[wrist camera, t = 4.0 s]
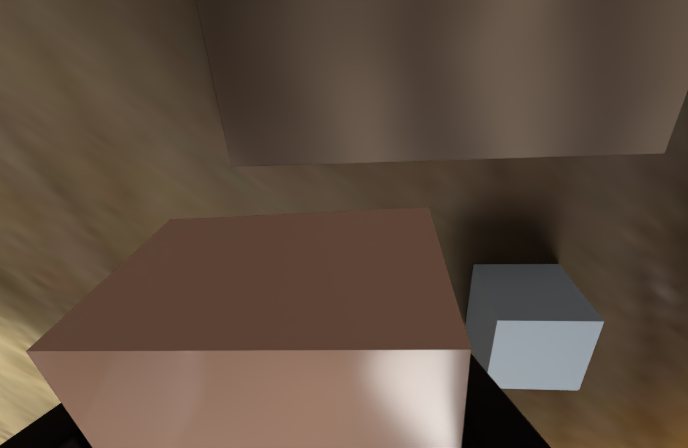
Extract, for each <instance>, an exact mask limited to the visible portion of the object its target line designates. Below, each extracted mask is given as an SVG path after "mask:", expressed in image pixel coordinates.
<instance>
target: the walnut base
mask: <svg viewBox="0 0 688 448" xmlns="http://www.w3.org/2000/svg"><path fill="white" fill-rule="evenodd" d="M196 2H197V7H198V12H199V16H200V21H201V26H202V31H203V35H204V40H205V45H206V49H207V54H208V59H209V64H210V68H211V73H212V78H213V82H214V87H215V92H216V97H217V101H218V106H219V111H220V115H221V120H222V125H223V130H224V134H225V139H226V144H227V149H228V153H229V158H230V163H231V167H238V166H270V165H303V164H335V163H367V162H399V161H432V160H464V159H496V158H529V157H561V156H593V155H625V154H658V153H665V151H666V148H667V145H668V142H669V140H670V137H671V134H672V132H673V129H674V126H675V123H676V121H677V118H678V115H679V113H680V110H681V107H682V104H683V102H684V99H685V96H686V94H687V91H688V0H196Z"/></svg>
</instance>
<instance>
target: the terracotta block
mask: <svg viewBox="0 0 688 448" xmlns="http://www.w3.org/2000/svg"><path fill="white" fill-rule="evenodd" d="M26 352H27V354H28V355H29V357H30V358H31V359H32V361H33V362H34V364H35V365H36V367H37V368H38V370H39V371H40V372H41V374H42V375H43V377H44V378H45V380H46V381H47V383H48V384H49V385H50V387H51V388H52V390H53V391H54V393H55V394H56V396H57V397H58V398H59V400H60V401H61V403H62V404H63V406H64V407H65V409H66V410H67V411H68V413H69V414H70V416H71V417H72V419H73V420H74V422H75V423H76V424H77V426H78V427H79V429H80V430H81V432H82V433H83V435H84V436H85V437H86V439H87V440H88V442H89V443H90V445H91V446H92V448H461V444H462V434H463V424H464V414H465V404H466V394H467V384H468V374H469V364H470V354H471V348H470V345H469V341H468V338H467V335H466V331H465V328H464V325H463V321H462V318H461V314H460V311H459V308H458V304H457V301H456V298H455V294H454V291H453V287H452V284H451V281H450V277H449V274H448V271H447V267H446V264H445V260H444V257H443V254H442V250H441V247H440V243H439V240H438V237H437V233H436V230H435V227H434V223H433V220H432V216H431V213H430V210H429V207H424V208H403V209H382V210H361V211H340V212H319V213H298V214H277V215H256V216H234V217H213V218H192V219H171V220H169V221H168V222H167V223H166V224H165V225H164V226H163V227H161V228H160V229H159V230H158V231H157V232H156V233H155V234H154V235H153V236H152V237H151V238H149V239H148V240H147V241H146V242H145V243H144V244H143V245H142V246H141V247H140V248H138V249H137V250H136V251H135V252H134V253H133V254H132V255H131V256H130V257H129V258H128V259H126V260H125V261H124V262H123V263H122V264H121V265H120V266H119V267H118V268H117V269H116V270H114V271H113V272H112V273H111V274H110V275H109V276H108V277H107V278H106V279H105V280H103V281H102V282H101V283H100V284H99V285H98V286H97V287H96V288H95V289H94V290H93V291H91V292H90V293H89V294H88V295H87V296H86V297H85V298H84V299H83V300H82V301H81V302H79V303H78V304H77V305H76V306H75V307H74V308H73V309H72V310H71V311H70V312H68V313H67V314H66V315H65V316H64V317H63V318H62V319H61V320H60V321H59V322H58V323H56V324H55V325H54V326H53V327H52V328H51V329H50V330H49V331H48V332H47V333H46V334H44V335H43V336H42V337H41V338H40V339H39V340H38V341H37V342H36V343H35V344H33V345H32V346H31V347H30V348H29V349H28V350H27V351H26Z"/></svg>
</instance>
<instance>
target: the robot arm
mask: <svg viewBox="0 0 688 448" xmlns="http://www.w3.org/2000/svg"><path fill="white" fill-rule="evenodd" d="M0 448H92V446H91V445H90V443H89V442H88V440H87V439H86V437H85V436H84V435H83V433H82V432H81V430H80V429H79V427H78V426H77V424H76V423H75V422H74V420H73V419H72V417H71V416H70V414H69V413H68V411H67V410H66V409H65V407H64V406H63V404H62V403H60V404H59V405H57V406H56V407H54V408H53V409H52V410H50V411H49V412H47V413H46V414H44V415H43V416H42V417H40V418H39V419H37V420H36V421H34V422H33V423H31V424H30V425H29V426H27V427H26V428H24V429H23V430H21V431H20V432H19V433H17V434H16V435H14V436H13V437H11V438H10V439H8V440H7V441H6V442H4V443H3V444H1V445H0ZM461 448H551V447H550V446H549V445H548V444H547V443H546V441H545V440H544V439H543V438H542V437H541V435H540V434H539V433H538V432H537V431H536V430H535V428H534V427H533V426H532V425H531V424H530V422H529V421H528V420H527V419H526V418H525V417H524V415H523V414H522V413H521V412H520V411H519V409H518V408H517V407H516V406H515V405H514V404H513V402H512V401H511V400H510V399H509V398H508V396H507V395H506V394H505V393H504V392H503V391H502V389H501V388H500V387H499V386H498V385H497V383H496V382H495V381H494V380H493V379H492V378H491V376H490V375H489V374H488V373H487V372H486V370H485V369H484V368H483V367H482V366H481V365H480V363H479V362H478V361H477V360H476V359H475V357H474V356H473V355H472V354H470V364H469V374H468V384H467V394H466V404H465V414H464V424H463V434H462V444H461Z"/></svg>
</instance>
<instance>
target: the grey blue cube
mask: <svg viewBox="0 0 688 448" xmlns="http://www.w3.org/2000/svg"><path fill="white" fill-rule="evenodd" d="M603 323H604V321H603V319H602V318H601V317H600V316H599V314H598V313H597V312H596V311H595V309H594V308H593V307H592V305H591V304H590V303H589V302H588V300H587V299H586V298H585V297H584V295H583V294H582V293H581V291H580V290H579V289H578V288H577V286H576V285H575V284H574V283H573V281H572V280H571V279H570V278H569V276H568V275H567V274H566V272H565V271H564V270H563V269H562V267H561V266H560V265H559V264H474V265H473V273H472V280H471V288H470V295H469V303H468V310H467V318H466V329H467V332H468V335H469V338H470V342H471V345H472V348H473V351H474V355H475V358H476V360H477V361H478V362H479V363H480V365H481V366H482V367H483V368H484V369H485V370H486V372H487V373H488V374H489V375H490V376H491V378H492V379H493V380H494V381H495V382H496V383H497V385H498V386H499V387H500V388H507V389H546V390H579V388H580V385H581V383H582V380H583V377H584V375H585V372H586V369H587V367H588V364H589V361H590V359H591V356H592V353H593V350H594V348H595V345H596V342H597V340H598V337H599V334H600V332H601V329H602V326H603Z"/></svg>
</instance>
